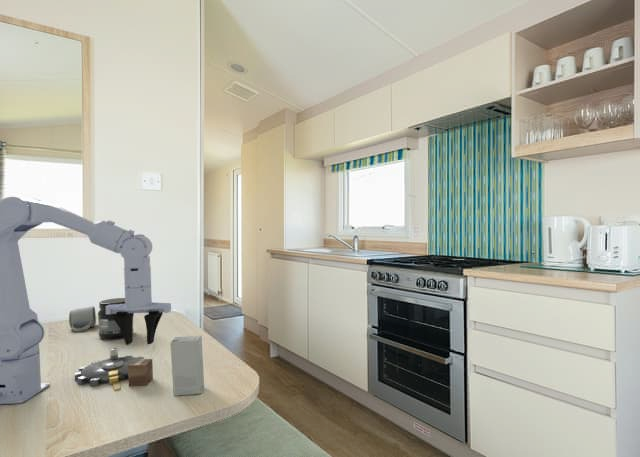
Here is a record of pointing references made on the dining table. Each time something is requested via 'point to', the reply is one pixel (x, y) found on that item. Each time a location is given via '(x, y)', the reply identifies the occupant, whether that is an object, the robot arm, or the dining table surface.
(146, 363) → the walnut block
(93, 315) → the ceramic mug
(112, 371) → the sprocket
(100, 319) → the supplement container
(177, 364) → the skincare box
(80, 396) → the dining table surface
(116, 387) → the pointer
